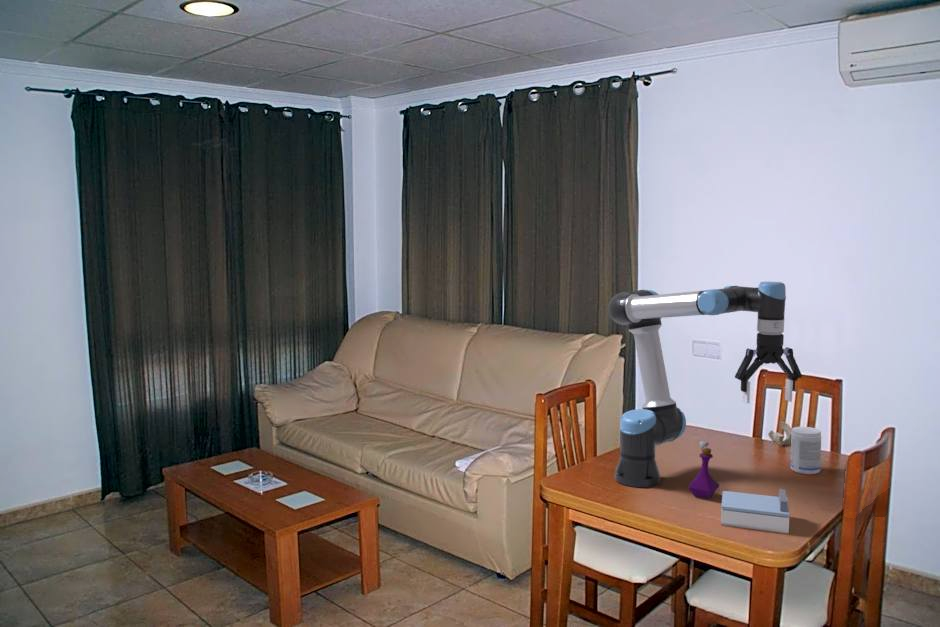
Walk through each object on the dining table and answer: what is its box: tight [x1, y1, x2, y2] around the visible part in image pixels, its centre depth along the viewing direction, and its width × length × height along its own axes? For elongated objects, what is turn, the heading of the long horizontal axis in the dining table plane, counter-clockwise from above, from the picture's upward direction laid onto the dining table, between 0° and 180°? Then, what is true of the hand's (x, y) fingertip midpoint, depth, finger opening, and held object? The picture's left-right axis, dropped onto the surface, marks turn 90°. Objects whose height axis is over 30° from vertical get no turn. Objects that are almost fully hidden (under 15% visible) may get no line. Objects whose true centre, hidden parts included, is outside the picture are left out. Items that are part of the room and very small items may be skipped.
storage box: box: [720, 508, 790, 534], centre depth 211 cm, size 18×13×4 cm
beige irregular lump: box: [768, 421, 792, 447], centre depth 283 cm, size 9×6×10 cm
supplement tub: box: [790, 426, 822, 475], centre depth 252 cm, size 10×10×15 cm
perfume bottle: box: [687, 441, 720, 500], centre depth 230 cm, size 8×8×18 cm
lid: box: [720, 488, 790, 518], centre depth 210 cm, size 18×13×4 cm
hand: (767, 401), depth 220 cm, fingers open, 13 cm apart
